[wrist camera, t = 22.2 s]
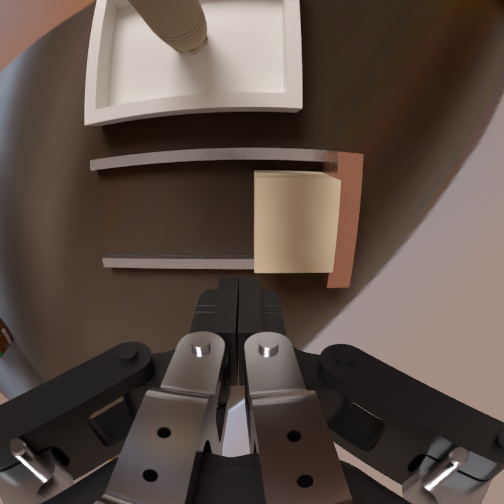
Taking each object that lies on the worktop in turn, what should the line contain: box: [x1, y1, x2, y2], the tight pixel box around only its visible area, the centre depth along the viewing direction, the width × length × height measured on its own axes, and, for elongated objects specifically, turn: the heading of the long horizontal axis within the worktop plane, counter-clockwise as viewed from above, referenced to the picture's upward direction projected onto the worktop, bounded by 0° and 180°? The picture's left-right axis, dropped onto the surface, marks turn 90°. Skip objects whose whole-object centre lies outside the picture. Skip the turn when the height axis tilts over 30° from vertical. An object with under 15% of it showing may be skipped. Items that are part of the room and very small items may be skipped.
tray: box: [85, 0, 302, 126], centre depth 18 cm, size 18×14×3 cm
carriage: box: [254, 170, 341, 273], centre depth 23 cm, size 6×7×6 cm
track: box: [90, 148, 363, 288], centre depth 23 cm, size 24×11×5 cm, turn 90°
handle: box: [128, 0, 208, 54], centre depth 12 cm, size 5×6×15 cm
